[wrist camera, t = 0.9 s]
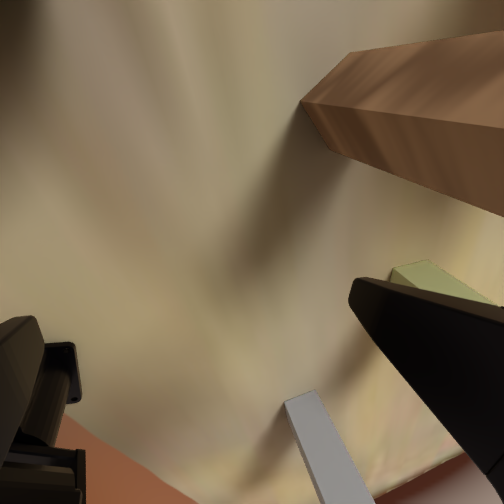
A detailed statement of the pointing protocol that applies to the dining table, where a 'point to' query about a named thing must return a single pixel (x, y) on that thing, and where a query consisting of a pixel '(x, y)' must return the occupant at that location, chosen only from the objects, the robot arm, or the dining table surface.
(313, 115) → the walnut pillar
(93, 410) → the dining table surface
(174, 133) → the dining table surface
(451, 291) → the olive pillar
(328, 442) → the grey pillar
